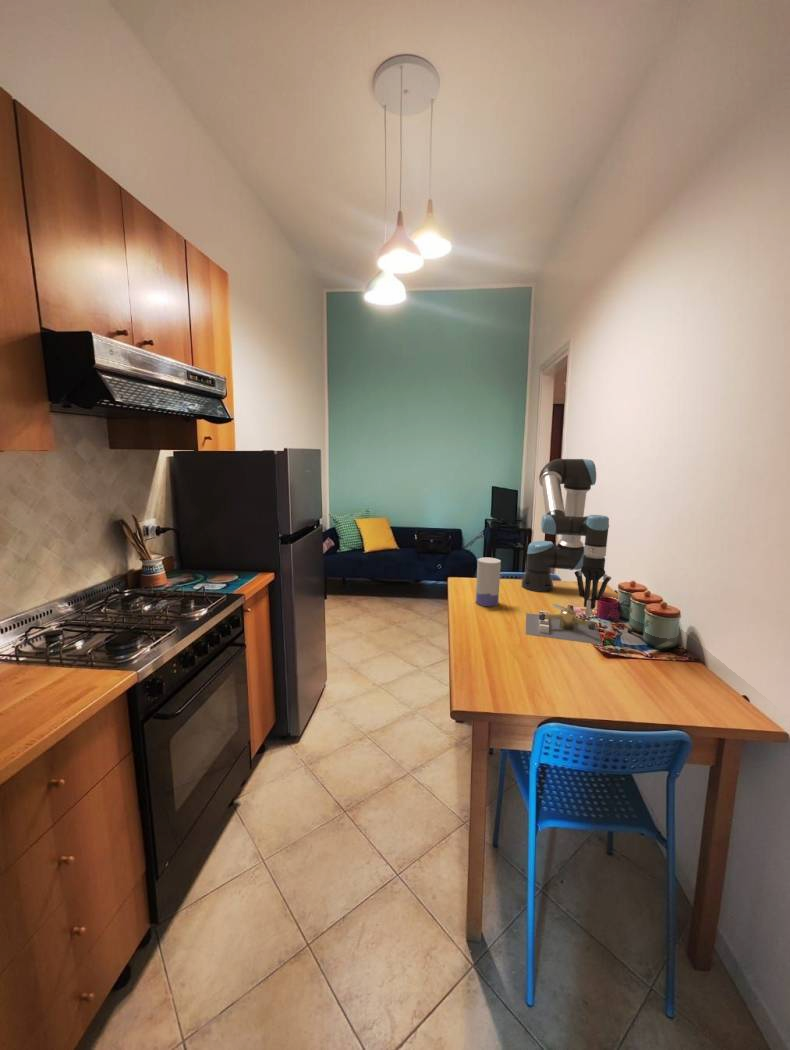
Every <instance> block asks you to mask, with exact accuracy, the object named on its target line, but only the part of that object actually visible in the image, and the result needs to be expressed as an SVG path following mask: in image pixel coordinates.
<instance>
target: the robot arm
mask: <svg viewBox="0 0 790 1050" xmlns="http://www.w3.org/2000/svg"><path fill="white" fill-rule="evenodd" d="M538 479H539V485H540V486H541V487H542V494H543V504H544V510H545V511H544V512H545V515H543V516H542V517H541V524H540V525H541V528H540V529H541V532H542V533H543V534H548V535H561V538H560V539H559V540H557V544H554V543H553V542H552V541H550V540H548V541H547V540H537V541H532V542H530V543H529V544H528V546H527V552H526V554H527V559H526V566H525V567H526V568H525V573H524V575H523V577H522V580H521V587H522V588H523V589H525V590H527V591H533V592H539V593H540V592H541V593H542V592H543V593H544V592H546V593H547V592H551V591H553V589H554V583H553V582H554V581H553V578H552V574H551V570H552V569H558V570H569V571H574V575H575V577H576V582H577V587H578V588H577V589H578V593H579V597H581V598H583V599H584V601H583V607H584V608H585V614H584V615H585V617H588V618H590V617H592V615H593V610H595V608H596V605H597V604H596V603H597V602H598V601H600V600H602V598H603V596H604V593H605V591H606V589H607V588H606V587H607V585H608V583H609V581H611V580H612V576H608V575H607V574H606V571H605V563H606V558H605V557H606V556H607V546H608V545H607V544H608V537H609V535H608V534H609V527H610V518H609V517H608V516H606V515H601V514H589V515H584V514H585V507H586V499H587V493H588V492H589V491H591V488H592V486H595V484H596V481H597V468H596V464H595V462H594V460H592V459H585V458H557V459H553V460H551V461H550V462H548V463H546V464H545V465H544V466H543V468H542V469H541V470H540V473H539V475H538ZM561 485H563V488H564V489H565V491H566V496H565V504H564V499H563V492H562V488H561V487H562V486H561ZM582 537H585V538H584V543H583V542H582V540H581V539H582ZM583 577H584V578H585V579H583ZM601 579H602V580H603V581H602V583H601V586H600V588H598V587H599V580H601ZM584 580H585V583H584ZM591 583H592V584H591ZM584 584H585V586H584ZM591 585H592V586H591ZM598 589H599V590H598ZM590 594H591V596H590Z"/></svg>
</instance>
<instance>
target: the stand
mask: <svg viewBox="0 0 790 1050" xmlns="http://www.w3.org/2000/svg"><path fill="white" fill-rule="evenodd" d="M540 613H543V614H548V613H549V612H548V611H545V610H538V614H534V613H528V612H526V613H525V635H528V636H534V637H535V636H536V637H541V638H542V637H543V638H548V639H556V640H563V641H570V642H578V643H586V644H593V645H600V646H604V644H603V641H602V639H601V636H600V633H599V630H598V628H597V627H598V626H597V625H596V623H595V621H594V620H593V621H592V620H585V619H584V620H585V621H587V622H593V623H595V630H591V629H589V628H588V627H586V626H584V625H581V624H578V623H576V622H575V624H574V629H564V628H561V627H560V619H545V620H539V614H540Z"/></svg>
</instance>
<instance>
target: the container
mask: <svg viewBox="0 0 790 1050" xmlns="http://www.w3.org/2000/svg"><path fill="white" fill-rule="evenodd" d="M501 564H502V560H501V559H498V558H495V557H487V556H486V557H480V558H477V568H476V570H477V571H476V587H475V603H476V604H478V605H480V606H482V607H489V608H490V607H497V606H498V605H499V597H500V596H499V595H500V584H501V583H500V580H501Z"/></svg>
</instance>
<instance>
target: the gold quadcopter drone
mask: <svg viewBox="0 0 790 1050" xmlns="http://www.w3.org/2000/svg"><path fill="white" fill-rule="evenodd" d="M552 608H556V609H557V610H560V613H559V614H558V613H557V614H556V613H555V614H553V613H552V614H551V613H549V614H543V613H540V614H539V613H538V615H539V620H545V619H560V627H561V628H564V629H574V624H575V622H576V623H578V624H581V625H584V626H586V627H588V628H589V629H591V630H595V625H596V623H593V622H587V621H588V620H586V621H585V619H582V618H579V617H576V614H577V613H576V612H575V610H574V605H570V604H568V605H567V607H564V606H561V605H558V604H555V603H552Z"/></svg>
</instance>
